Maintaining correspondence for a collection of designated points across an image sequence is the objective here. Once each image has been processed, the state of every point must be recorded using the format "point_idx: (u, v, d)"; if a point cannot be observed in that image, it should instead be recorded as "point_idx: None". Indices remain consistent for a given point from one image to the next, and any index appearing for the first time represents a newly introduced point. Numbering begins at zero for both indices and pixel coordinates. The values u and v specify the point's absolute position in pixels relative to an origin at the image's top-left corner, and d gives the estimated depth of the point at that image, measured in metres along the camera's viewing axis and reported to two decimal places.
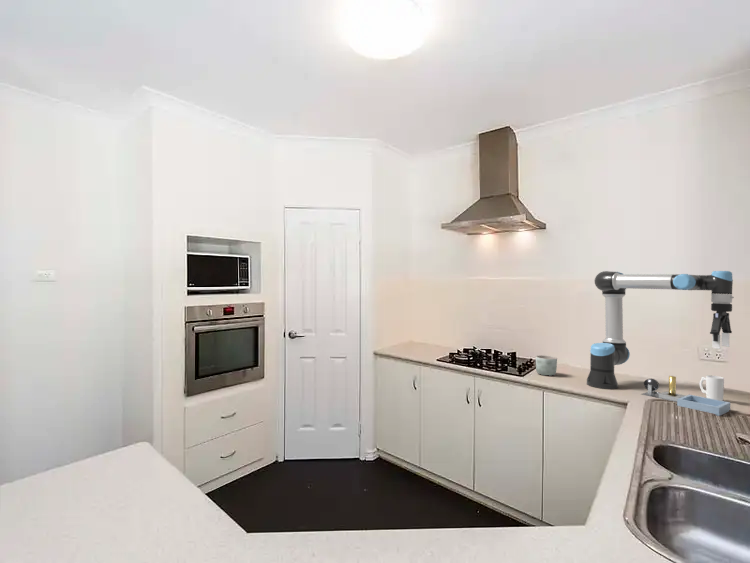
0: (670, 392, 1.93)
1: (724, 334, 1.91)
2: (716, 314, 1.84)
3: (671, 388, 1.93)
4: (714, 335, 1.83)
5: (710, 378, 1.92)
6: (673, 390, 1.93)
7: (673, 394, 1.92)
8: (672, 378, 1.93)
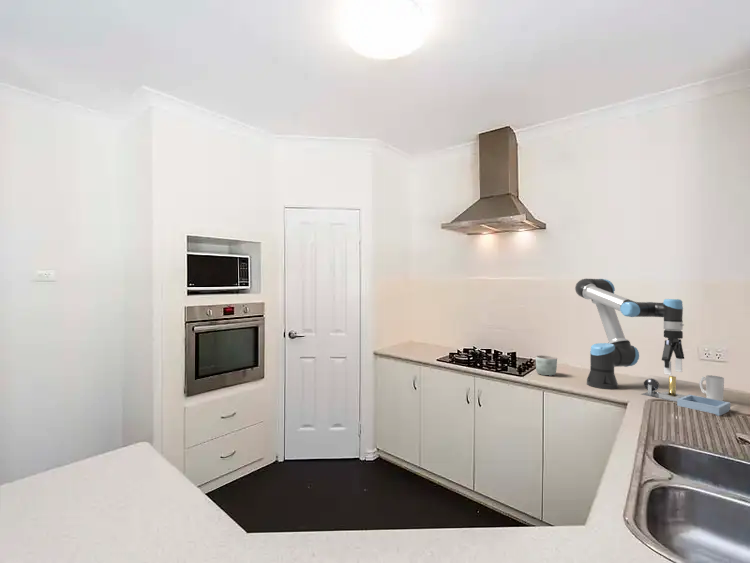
0: (670, 392, 1.93)
1: (677, 360, 1.98)
2: (667, 341, 1.90)
3: (671, 388, 1.93)
4: (665, 362, 1.89)
5: (710, 378, 1.92)
6: (673, 390, 1.93)
7: (673, 394, 1.92)
8: (672, 378, 1.93)
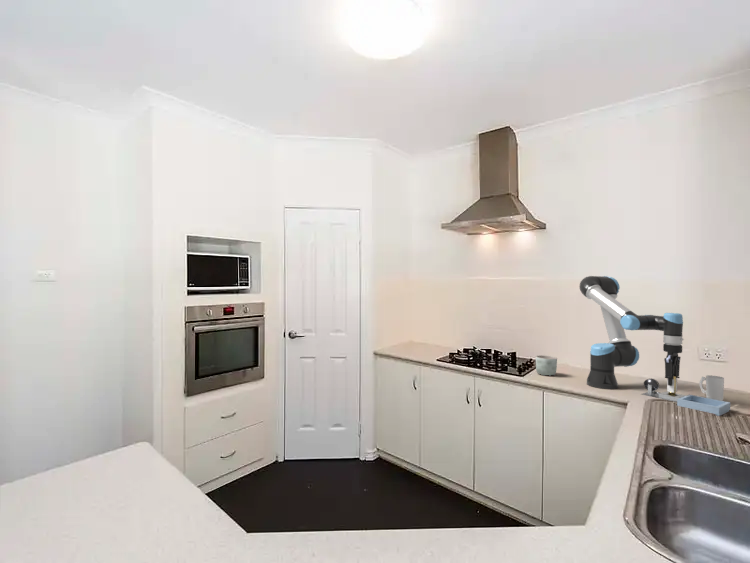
0: (670, 392, 1.93)
1: None
2: (667, 360, 1.91)
3: None
4: (668, 379, 1.92)
5: (710, 378, 1.92)
6: None
7: (673, 394, 1.93)
8: None
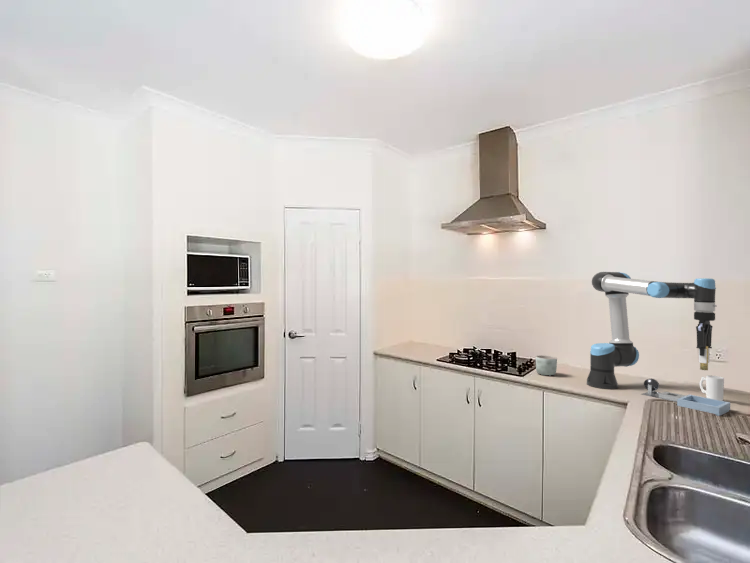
0: (702, 363, 1.80)
1: None
2: (699, 328, 1.77)
3: None
4: (700, 349, 1.79)
5: (710, 378, 1.92)
6: None
7: (705, 365, 1.79)
8: None
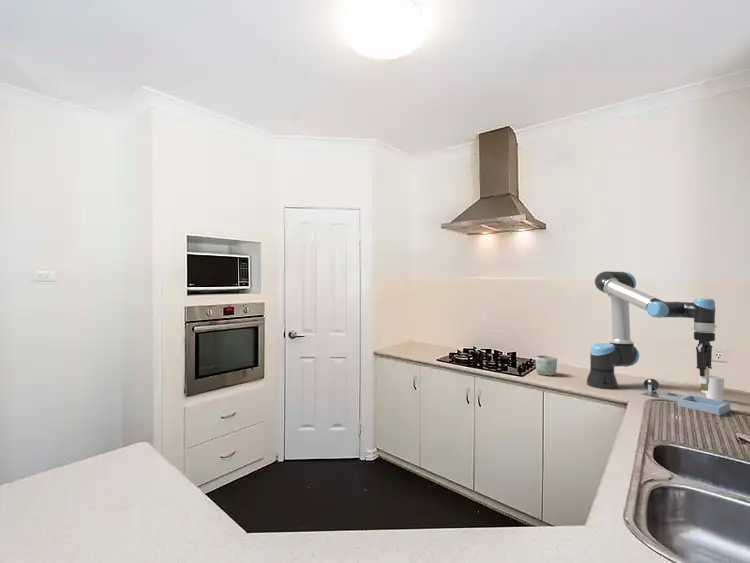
0: (702, 383, 1.80)
1: None
2: (699, 348, 1.77)
3: None
4: (700, 370, 1.79)
5: (710, 378, 1.92)
6: None
7: (705, 385, 1.79)
8: None
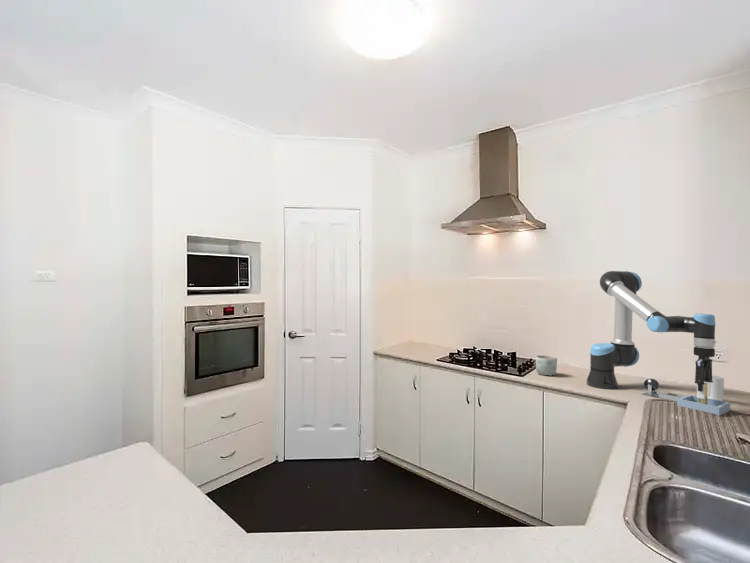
0: (701, 400, 1.80)
1: None
2: (698, 362, 1.77)
3: None
4: (698, 385, 1.78)
5: None
6: (705, 398, 1.79)
7: (705, 402, 1.79)
8: None
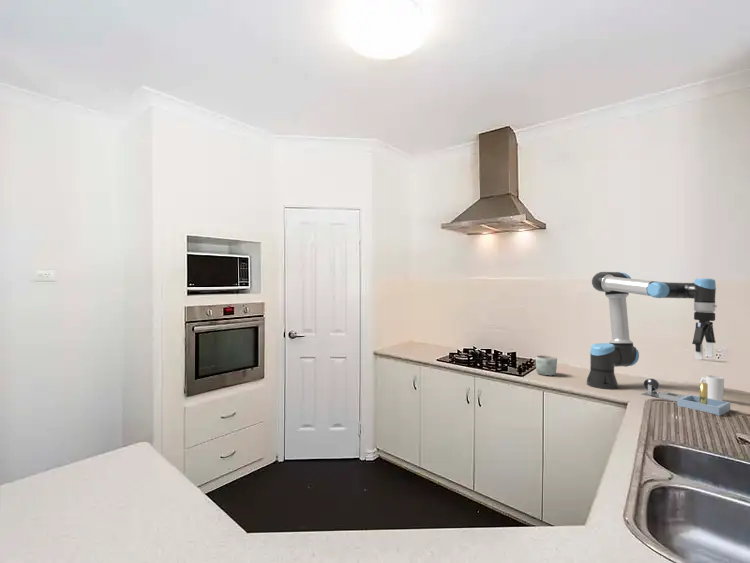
0: (701, 400, 1.80)
1: (708, 344, 1.85)
2: (698, 323, 1.77)
3: (702, 396, 1.80)
4: (696, 345, 1.76)
5: (710, 378, 1.92)
6: (705, 398, 1.79)
7: (705, 402, 1.79)
8: (703, 385, 1.79)
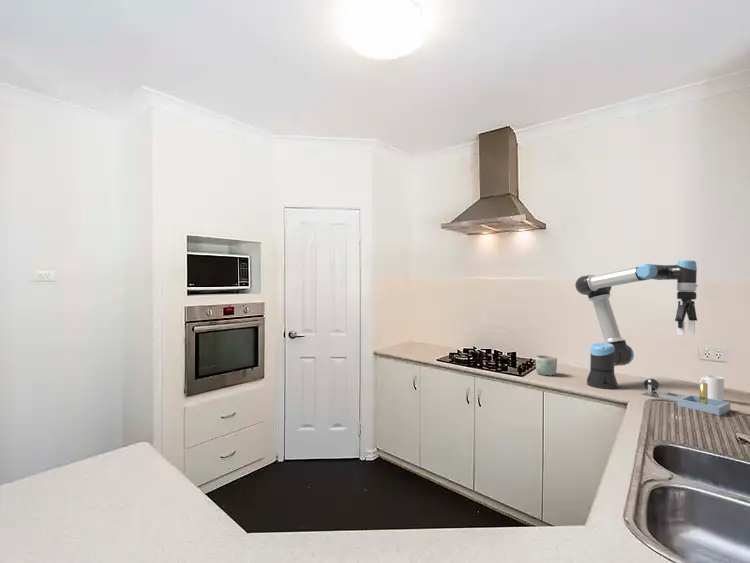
0: (701, 400, 1.80)
1: (690, 321, 1.99)
2: (681, 302, 1.91)
3: (702, 396, 1.80)
4: (679, 322, 1.90)
5: (710, 378, 1.92)
6: (705, 398, 1.79)
7: (705, 402, 1.79)
8: (703, 385, 1.79)
